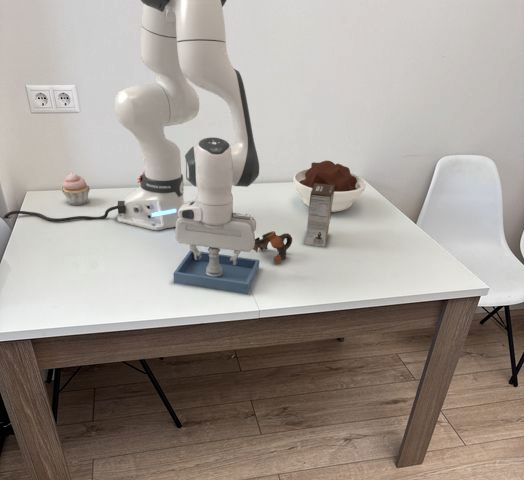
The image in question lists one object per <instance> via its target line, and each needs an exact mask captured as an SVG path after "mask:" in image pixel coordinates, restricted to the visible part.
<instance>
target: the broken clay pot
mask: <svg viewBox="0 0 524 480" xmlns="http://www.w3.org/2000/svg"><path fill="white" fill-rule="evenodd" d="M261 237H262V238H260V236H257V237H255V246H254V248H253V250H252V251H255V253H258V251H259V250H260V251H265V250H268V249H269V247H268V246H269V244H270V245H271V247H272V248H273V249H276V250H277V252H278V254H276V255H275V256H274V257H273V261H274V263H275V265H279V264H280V263H282V262H283V261H286V260H287V250H288V249H289V248H290V247H291V246H292V244H293V237H292V235H291V234H290V233H282V234H280V235H278V234H277V233H276V231H270V232H267V233H264V234H263V235H262V236H261ZM285 239H286V242H284V241H285Z"/></svg>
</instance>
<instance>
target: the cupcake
mask: <svg viewBox="0 0 524 480" xmlns="http://www.w3.org/2000/svg"><path fill="white" fill-rule="evenodd" d="M90 187H91V186H90V185H88V183H87V182H86V180H85V178H84V177H82V175H81V176H80V175H78V174H77V173H75V172H74V171H71V172H70V173H69V174H68V175H67V176H66V177H65V179H64V181H63V182H62V186H61V187H60V191H61V192H62V193H63V195H64V197H65V199H66V201H67V203H68V204H69V205H71V206H82V205H85V204H87V203H88V201H89V192H90V190H91V188H90Z"/></svg>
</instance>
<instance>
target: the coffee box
mask: <svg viewBox="0 0 524 480" xmlns="http://www.w3.org/2000/svg"><path fill="white" fill-rule="evenodd" d="M334 189H335V185H327V184H318V183H314V185H313V188H312V191H311V195H310V204H309V207H308V213H307V222H306V231H305V238H304V239H305V241H304V244H305V245H308V246H314V247H322V248H324V247H326V244H327V240H328V236H329V230H330V229H329V228H330V223H331V215H332V212H331V209H332V203H333V195H334Z"/></svg>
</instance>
